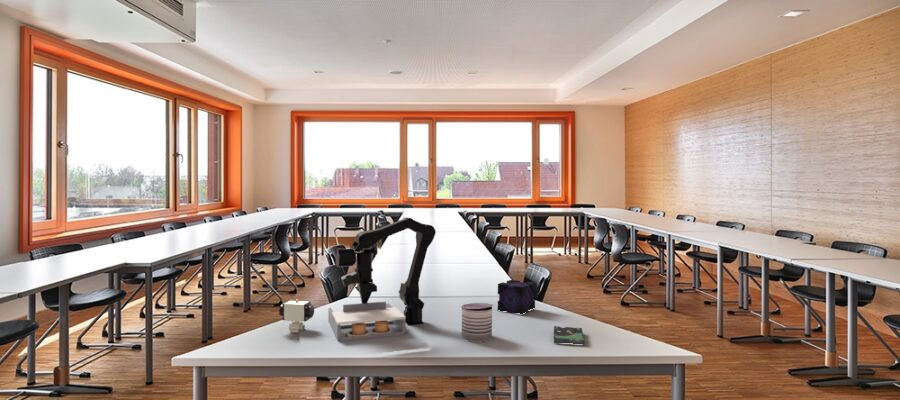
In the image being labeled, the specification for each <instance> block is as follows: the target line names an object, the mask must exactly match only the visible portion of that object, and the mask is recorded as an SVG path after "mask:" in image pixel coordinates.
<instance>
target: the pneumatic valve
mask: <svg viewBox="0 0 900 400" xmlns="http://www.w3.org/2000/svg"><path fill="white" fill-rule="evenodd" d="M278 314H279V316H280V317H281V318H282V321H284V322H285V321H288V322H290V321H291V323H289V325H288V329H289V333H291V334H298V333H299V331H304V330H305V328H306V326H305V324H304V322H307V321H309V320H310V319H312V318H313V317H314V315H315V306H314V305H312V301H307V300H305V301H303V300H299V299H298V298H297V299H295V300H287V301H285V302H282V304H281V305H280V306H279V309H278Z"/></svg>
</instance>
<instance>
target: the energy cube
mask: <svg viewBox="0 0 900 400" xmlns="http://www.w3.org/2000/svg"><path fill="white" fill-rule="evenodd" d="M497 294H498V295H499V296H498V300H497V311H498V310H500V311H509V312H508V313H512V314H513V313H520V314H523V313H525V312H526V311H528V310H530V309H533V308H535V309H536V299H534V298H535V297H534V295H535V294H536V282H532V281H525V282H522V281H521V280H516V279H508V280H506V282H499V283H497ZM500 311H499V312H500ZM528 312H529V311H528Z"/></svg>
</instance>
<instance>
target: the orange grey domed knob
mask: <svg viewBox="0 0 900 400" xmlns="http://www.w3.org/2000/svg"><path fill="white" fill-rule="evenodd" d="M366 323H367V322H364V323H352V335H364V334H366Z"/></svg>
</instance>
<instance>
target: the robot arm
mask: <svg viewBox="0 0 900 400" xmlns="http://www.w3.org/2000/svg"><path fill="white" fill-rule="evenodd" d="M407 229H409V230H410V231H413V232H414V233H415V244H416V246H415V250H414V253H413V257H412V261H411V265H410V268H409V270H408V271H409V272H408V276H407V279H406V281H405V282H401V283H400V288H399V290H398V294H399V299H400V300H401V301H402V302H403V304H404V310H403V315H404V316H405V325H408V326H410V325H418V324H419V325H421V324H424V321H423V309H424V306H425V303H424V301H422V300H421V299H420V298H419V297H420V286H419V285H420V284H419V283H420V279H421V275H422V270H423V266H424V263H425V259H426V256H427V251H428V248H429V247H430V245H431V244H432V243H433V241H434V239H435V237H436V229H435V227H434V226H433V225H431V224H427V223H421V222H419V221H417V220H415V219H413V218H412V217H403V218H402V219H400V220H397V221H395V222H391V223H389V224H387V225H385V226H382V227H379V228H376V229H375V228H374V229H369V230H365V231H364V230H363V231H360V232H358V233H357V234H356V235H355V237H354V238H355V239H354V242H353V243H352V244H351V246H350V247H349V248H337V251H336V256H335V264H336V265H335V266H336V267H337V268H344V267H353V266H354V265H355V264H356V266H355V268H354V271H353V272H350V273H348V274H345V275H343V276H341V277H340V280H341V281H342V284H343V286H344V287H349V286H350V285H355V284H356V286H355V287H354V288H355V290H356V291H357V292H358V294H359V297H360V301H361V303H369V300H370V298H371V296H372V294H373V293H376V292H378V285H376V284H375V283H374V279H373V274H372V273H373V272H374V268H373V265H372V264H373V262H372V261H373V254H377V253H378V251H377V250H376V249H375V248H374V247H373V246H374V245H376V244H377V243H379V242H380V241H381V240H383V239H384V238H385V239H386V238H387V237H389V236H393V235H395V234H398V233H400V232H403V231H405V230H407Z"/></svg>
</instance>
